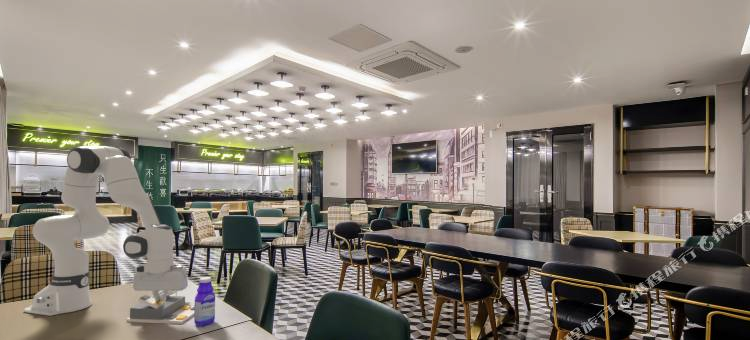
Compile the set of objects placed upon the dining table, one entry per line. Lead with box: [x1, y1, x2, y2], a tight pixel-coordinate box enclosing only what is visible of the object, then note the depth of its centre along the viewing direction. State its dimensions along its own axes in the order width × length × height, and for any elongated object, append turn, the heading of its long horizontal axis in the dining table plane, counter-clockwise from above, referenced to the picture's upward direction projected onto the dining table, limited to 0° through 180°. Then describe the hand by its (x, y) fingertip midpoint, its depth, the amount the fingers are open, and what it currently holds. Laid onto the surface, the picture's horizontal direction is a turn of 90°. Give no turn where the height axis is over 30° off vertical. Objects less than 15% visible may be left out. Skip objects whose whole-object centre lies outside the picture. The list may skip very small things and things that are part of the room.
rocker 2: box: [154, 291, 179, 298], centre depth 151 cm, size 8×4×2 cm, turn 88°
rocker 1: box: [137, 294, 164, 309], centre depth 141 cm, size 8×4×2 cm, turn 87°
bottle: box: [193, 276, 216, 327], centre depth 139 cm, size 7×6×17 cm
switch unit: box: [125, 295, 195, 325], centre depth 146 cm, size 22×16×6 cm
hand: (160, 301), depth 141 cm, fingers closed
